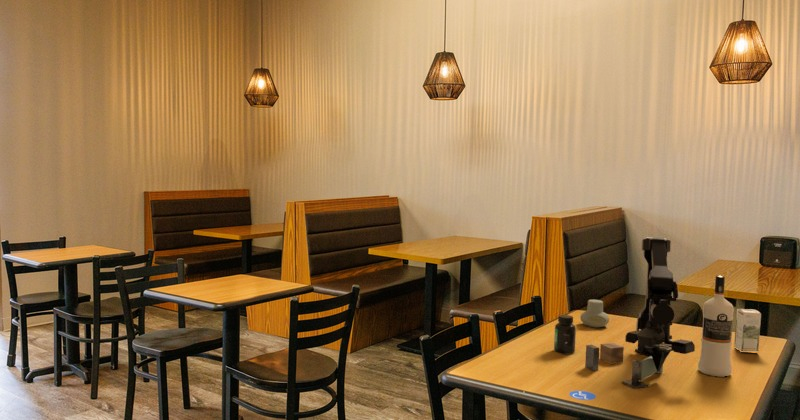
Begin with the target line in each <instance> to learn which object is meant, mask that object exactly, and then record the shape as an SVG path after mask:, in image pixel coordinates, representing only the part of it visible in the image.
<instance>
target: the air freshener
mask: <svg viewBox="0 0 800 420" xmlns="http://www.w3.org/2000/svg"><path fill="white" fill-rule="evenodd" d="M586 309H587V310H584V311H583V312H582V313H581V314H580V316H579V319H580V322H582V323H583V324H584V325H585V326H587V327H590V328H593V327H594V329H595V328H596V329H598V328H603V327H605V326H607V325H608V324H609V323H610V316H609V315H608V314H607V313H606V312H604V301H603V300H600V299H589V300H587V308H586Z"/></svg>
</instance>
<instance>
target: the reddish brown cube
mask: <svg viewBox="0 0 800 420" xmlns="http://www.w3.org/2000/svg"><path fill="white" fill-rule="evenodd" d="M599 360H600V361H604V362H606V363H609V364H615V363H617V364H618V363H624V346H622V345H620V344H617V343H614V342H610V343H609V342H608V343H601V344H600V347H599Z"/></svg>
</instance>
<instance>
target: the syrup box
mask: <svg viewBox="0 0 800 420" xmlns="http://www.w3.org/2000/svg"><path fill="white" fill-rule="evenodd" d="M761 321H762V313H761V312H760V311H758V310H757V309H752V308H749V309H748V308H746V309H745V308H737V309H736V317H735V331H734V332H735V333H734V344H733V348H734V347H736V348H738V349H739V350H741V351H758V352H759V347H760V346H759V344H760V334H761V332H760V331H761Z"/></svg>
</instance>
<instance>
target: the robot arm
mask: <svg viewBox="0 0 800 420" xmlns="http://www.w3.org/2000/svg"><path fill="white" fill-rule="evenodd" d="M671 241H672V240H669V239H667V238H665V237H652V236H650V237H649V236H646V237H645V238H643V239H642V240H641V251H642V252H643V253H642V254H643V256H644V257H643V258H644V260H645V261H646V263H647V270H646V283H645V284H646V285H645V300H644V301H645V303H644V305H643V306H642V307H641V309H640V310H639V316H637V318H636V324H635V325H636V326H635V330H633V331H632V330H631V331H628V332H627V333H626V334H625V336H624V339H625V342H626V343H629V344H630V343H631V344H636V343H637V348H634V351H635V352H637V353H640V354H642V355H645V356H648V357H650V356H652V358H653V361H654V364H655V367H656V370H657V371H660V369H661V367H662V365H663V366H664V363H665V362H666V359H667V357H668V356H669V355H670V353H671V352H673V353H677V354H684V355H686V354H689V353H693V352H695V349H696V347H695V343H694V341H692V340H686V339H681V338H680V339H677V340H673V336H672V335H671V326H672V325H673V320H674V318H675V311H674V309H673V308H672V306H671V302H677V299H679V289H678V283H677V280H676V279H674V275H673V274H674V273H673V272H672V271H671V270H670V269H669V268H668V259H667V258H668V253H670V252H671Z"/></svg>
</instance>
